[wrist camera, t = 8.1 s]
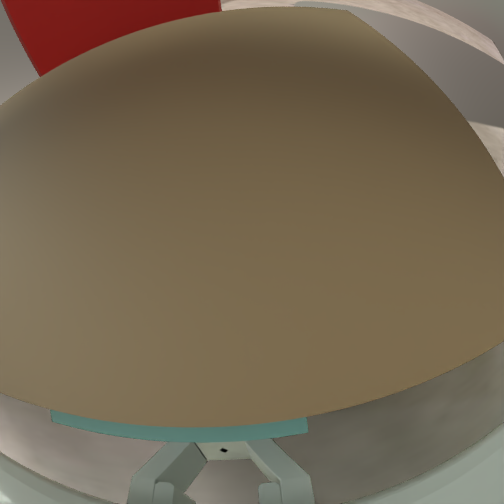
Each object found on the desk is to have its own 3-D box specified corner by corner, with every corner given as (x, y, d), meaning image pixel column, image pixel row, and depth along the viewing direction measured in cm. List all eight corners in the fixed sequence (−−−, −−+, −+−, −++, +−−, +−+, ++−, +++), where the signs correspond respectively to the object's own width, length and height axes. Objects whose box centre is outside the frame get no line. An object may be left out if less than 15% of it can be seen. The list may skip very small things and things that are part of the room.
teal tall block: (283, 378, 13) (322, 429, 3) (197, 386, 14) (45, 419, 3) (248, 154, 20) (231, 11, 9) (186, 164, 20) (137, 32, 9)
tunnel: (319, 358, 14) (549, 307, 1) (163, 374, 14) (-80, 350, 1) (300, 255, 17) (347, 10, 4) (158, 275, 17) (-2, 107, 4)
